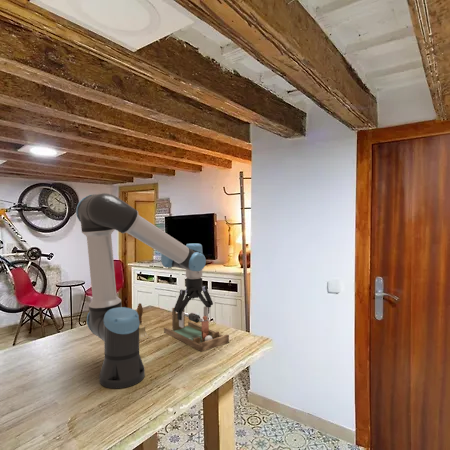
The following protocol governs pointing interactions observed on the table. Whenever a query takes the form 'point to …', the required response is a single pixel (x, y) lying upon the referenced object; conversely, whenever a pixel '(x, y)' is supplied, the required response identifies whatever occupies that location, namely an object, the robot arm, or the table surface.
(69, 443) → the table surface
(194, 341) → the pitch
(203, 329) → the kicker
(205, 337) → the ball
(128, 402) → the table surface
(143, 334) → the hand bell
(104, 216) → the robot arm
